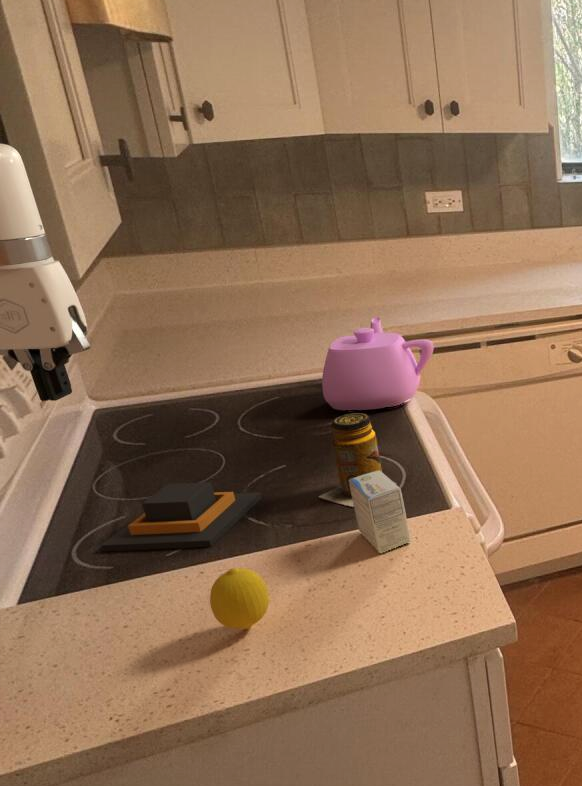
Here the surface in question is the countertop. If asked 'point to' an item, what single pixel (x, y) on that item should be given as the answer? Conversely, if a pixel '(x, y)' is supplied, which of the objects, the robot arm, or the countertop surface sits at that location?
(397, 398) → the teapot
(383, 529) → the medicine box
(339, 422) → the condiment
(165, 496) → the small block
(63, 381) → the robot arm
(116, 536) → the base pad
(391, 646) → the countertop surface
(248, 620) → the lemon
